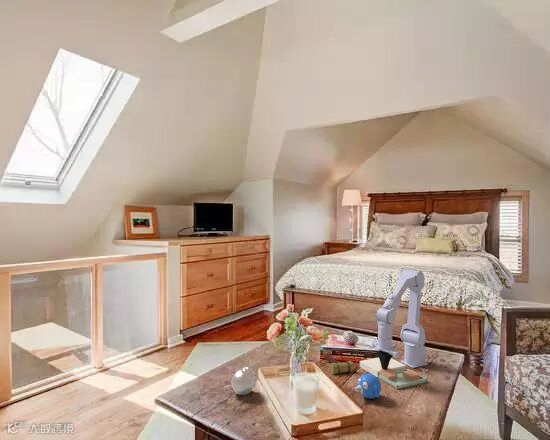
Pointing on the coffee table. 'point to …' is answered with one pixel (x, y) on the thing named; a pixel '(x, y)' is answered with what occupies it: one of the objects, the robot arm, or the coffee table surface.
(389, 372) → the tile
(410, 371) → the tile
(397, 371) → the tray
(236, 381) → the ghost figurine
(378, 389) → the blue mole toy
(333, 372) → the gavel
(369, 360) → the board
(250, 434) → the coffee table surface
